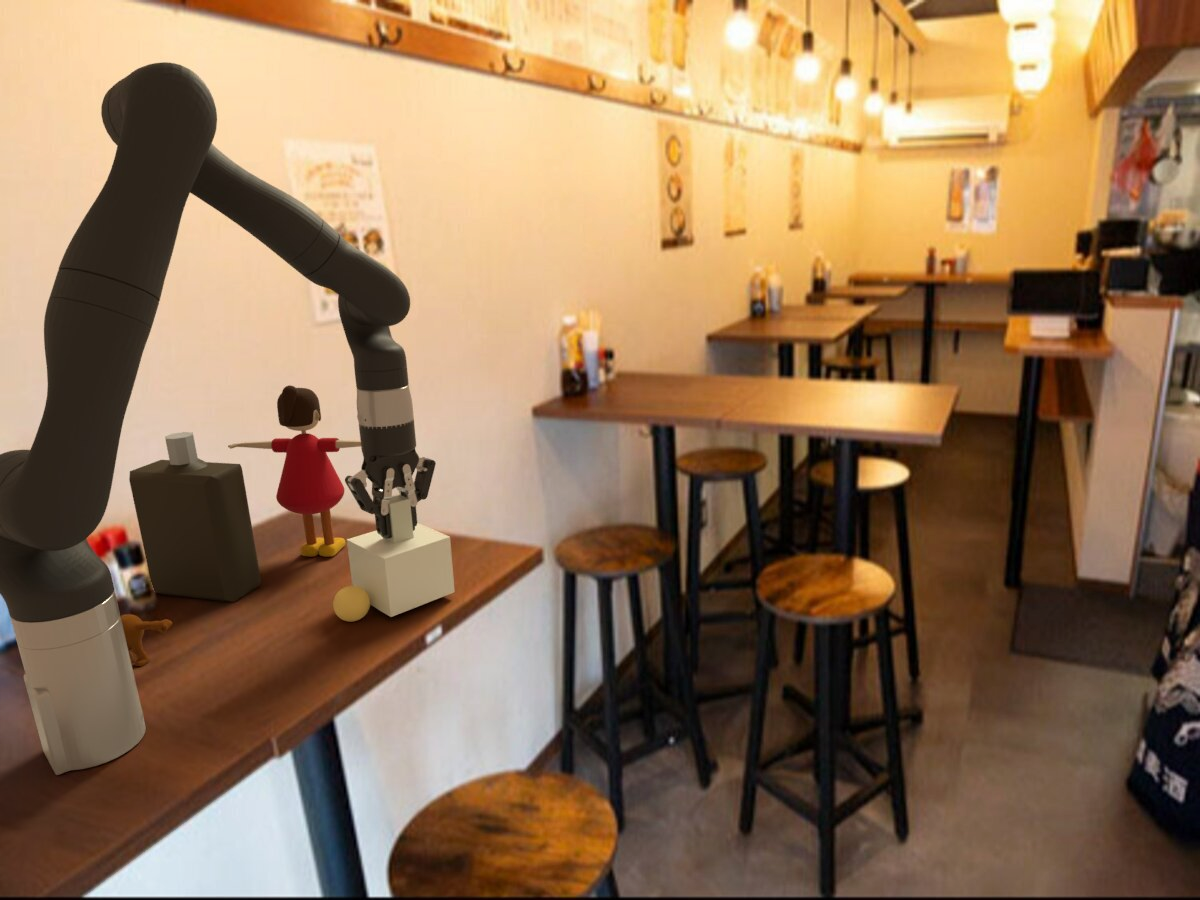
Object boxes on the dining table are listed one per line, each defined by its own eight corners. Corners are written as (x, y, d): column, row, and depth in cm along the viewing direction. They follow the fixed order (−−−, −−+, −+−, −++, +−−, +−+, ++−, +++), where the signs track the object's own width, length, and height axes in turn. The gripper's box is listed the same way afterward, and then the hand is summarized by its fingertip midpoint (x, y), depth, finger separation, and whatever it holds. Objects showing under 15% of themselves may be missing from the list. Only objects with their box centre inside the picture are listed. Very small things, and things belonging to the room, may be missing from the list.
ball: (381, 613, 114) (350, 633, 111) (363, 602, 117) (333, 621, 114) (370, 585, 112) (339, 604, 109) (352, 574, 115) (321, 593, 112)
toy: (405, 543, 140) (386, 375, 132) (383, 568, 130) (361, 388, 122) (261, 542, 143) (233, 377, 135) (228, 567, 133) (196, 391, 125)
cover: (390, 617, 112) (380, 517, 108) (353, 594, 119) (341, 500, 115) (454, 592, 119) (446, 497, 115) (415, 572, 126) (406, 483, 122)
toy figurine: (81, 670, 103) (69, 622, 101) (101, 655, 107) (90, 609, 105) (168, 671, 102) (158, 624, 100) (186, 656, 105) (176, 610, 104)
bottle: (233, 605, 119) (204, 444, 113) (147, 595, 124) (113, 440, 117) (268, 582, 127) (242, 430, 120) (185, 574, 131) (156, 426, 124)
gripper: (353, 432, 104) (367, 554, 109) (443, 413, 114) (453, 526, 118) (326, 423, 110) (340, 541, 114) (415, 406, 119) (425, 515, 124)
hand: (398, 533), depth 116 cm, fingers closed on cover, 3 cm apart
